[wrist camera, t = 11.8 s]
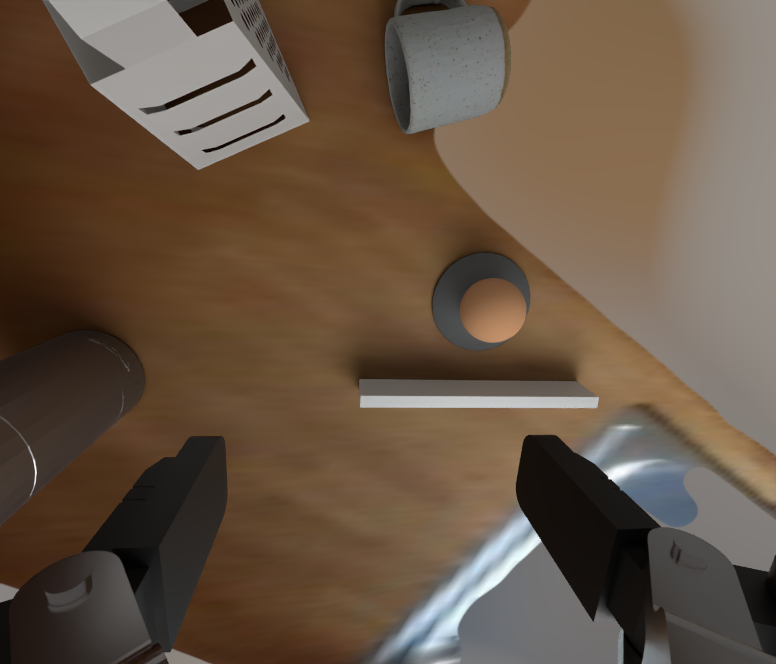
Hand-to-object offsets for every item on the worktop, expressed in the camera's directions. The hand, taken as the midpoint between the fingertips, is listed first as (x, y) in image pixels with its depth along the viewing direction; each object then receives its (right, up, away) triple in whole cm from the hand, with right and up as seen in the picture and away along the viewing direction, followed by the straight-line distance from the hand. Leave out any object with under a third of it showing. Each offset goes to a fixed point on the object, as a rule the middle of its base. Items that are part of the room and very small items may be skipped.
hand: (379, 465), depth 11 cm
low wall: (+9, -2, +32) cm, 33 cm away
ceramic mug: (+4, +26, +23) cm, 35 cm away
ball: (+10, +6, +26) cm, 29 cm away
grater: (-13, +24, +22) cm, 35 cm away
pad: (+10, +6, +29) cm, 32 cm away
